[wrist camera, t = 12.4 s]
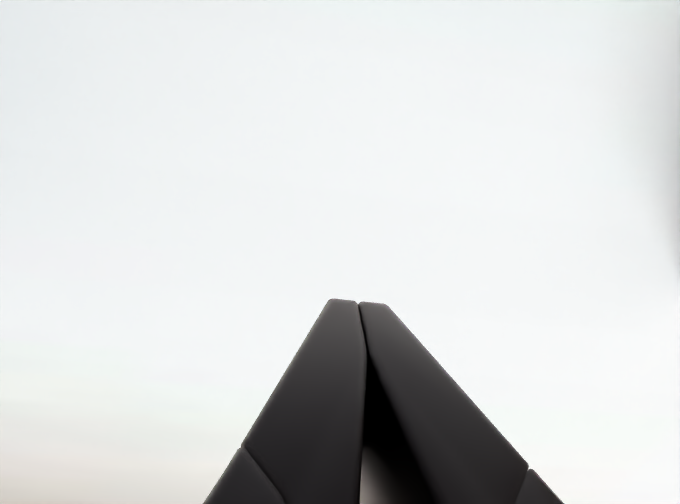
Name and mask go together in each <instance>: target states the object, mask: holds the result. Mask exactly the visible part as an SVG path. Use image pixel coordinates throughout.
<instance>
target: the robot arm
mask: <svg viewBox="0 0 680 504" xmlns="http://www.w3.org/2000/svg"><path fill="white" fill-rule="evenodd" d="M528 467H529V465H528V463H527V462H526V461H525V460H524V459H523V458H522V457H521V455H520V454H519V453H518V452H517V451H516V450H515V449H514V448H513V446H512V445H511V444H510V443H509V442H508V441H507V440H506V439H505V437H504V436H503V435H502V434H501V433H500V432H499V431H498V429H497V428H496V427H495V426H494V425H493V424H492V423H491V422H490V420H489V419H488V418H487V417H486V416H485V415H484V414H483V413H482V411H481V410H480V409H479V408H478V407H477V406H476V405H475V404H474V402H473V401H472V400H471V399H470V398H469V397H468V396H467V394H466V393H465V392H464V391H463V390H462V389H461V388H460V387H459V385H458V384H457V383H456V382H455V381H454V380H453V379H452V378H451V376H450V375H449V374H448V373H447V372H446V371H445V370H444V369H443V367H442V366H441V365H440V364H439V363H438V362H437V361H436V360H435V358H434V357H433V356H432V355H431V354H430V353H429V352H428V350H427V349H426V348H425V347H424V346H423V345H422V344H421V343H420V341H419V340H418V339H417V338H416V337H415V336H414V335H413V334H412V332H411V331H410V330H409V329H408V328H407V327H406V326H405V325H404V323H403V322H402V321H401V320H400V319H399V318H398V317H397V315H396V314H395V313H394V312H393V311H392V310H391V309H390V308H389V307H388V306H387V305H386V304H381V303H371V302H360V303H359V304H357V303H356V302H355V301H351V300H342V299H330V300H329V301H328V302H327V304H326V305H325V307H324V309H323V310H322V312H321V314H320V315H319V317H318V319H317V320H316V322H315V323H314V325H313V327H312V328H311V330H310V332H309V333H308V335H307V337H306V338H305V340H304V342H303V343H302V345H301V347H300V348H299V350H298V352H297V353H296V355H295V357H294V358H293V360H292V361H291V363H290V365H289V366H288V368H287V370H286V371H285V373H284V375H283V376H282V378H281V380H280V381H279V383H278V385H277V386H276V388H275V390H274V391H273V393H272V394H271V396H270V398H269V399H268V401H267V403H266V404H265V406H264V408H263V409H262V411H261V413H260V414H259V416H258V418H257V419H256V421H255V423H254V424H253V426H252V428H251V429H250V431H249V432H248V434H247V436H246V437H245V439H244V441H243V442H242V444H241V448H239V449H238V450H237V452H236V453H235V455H234V457H233V458H232V460H231V461H230V463H229V465H228V466H227V468H226V470H225V471H224V473H223V474H222V476H221V477H220V479H219V480H218V482H217V483H216V485H215V486H214V488H213V489H212V491H211V493H210V494H209V496H208V497H207V499H206V500H205V502H204V503H203V504H564V503H563V502H562V501H561V500H560V499H559V498H558V497H557V496H556V494H555V493H554V492H553V491H552V490H551V489H550V488H549V487H548V486H547V484H546V483H545V482H544V481H543V480H542V479H541V478H540V477H539V475H538V474H537V473H536V472H535V471H534V470H533V469H528ZM527 470H528V471H527Z"/></svg>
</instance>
